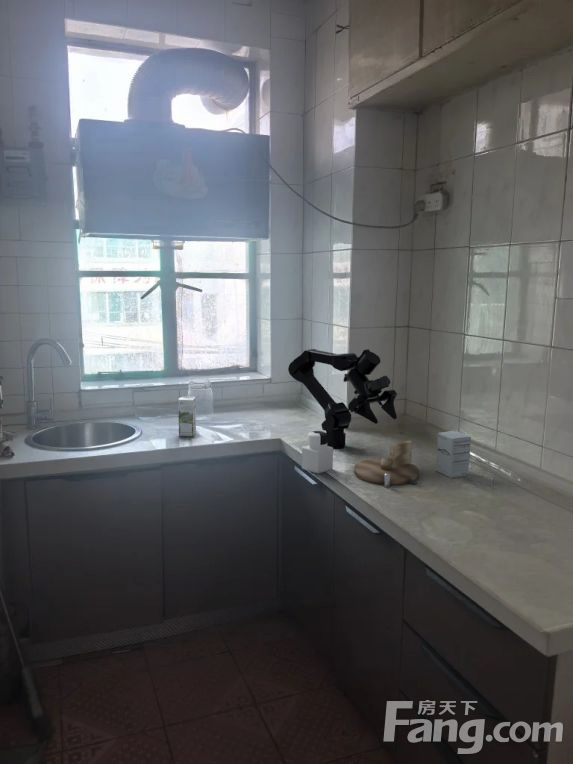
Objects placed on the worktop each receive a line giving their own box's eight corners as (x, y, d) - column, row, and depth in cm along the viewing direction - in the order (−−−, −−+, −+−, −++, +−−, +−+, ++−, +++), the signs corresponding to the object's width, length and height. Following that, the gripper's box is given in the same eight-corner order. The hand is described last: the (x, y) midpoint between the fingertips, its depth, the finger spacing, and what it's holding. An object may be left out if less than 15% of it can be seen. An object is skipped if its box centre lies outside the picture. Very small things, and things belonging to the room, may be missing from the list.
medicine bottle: (316, 463, 198) (317, 428, 196) (333, 469, 193) (334, 432, 191) (301, 468, 193) (301, 432, 191) (317, 474, 188) (318, 436, 186)
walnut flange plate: (391, 491, 173) (392, 461, 172) (340, 470, 190) (341, 444, 189) (438, 477, 186) (439, 449, 184) (386, 459, 202) (387, 433, 201)
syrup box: (196, 433, 233) (195, 396, 230) (193, 437, 227) (193, 399, 224) (181, 432, 233) (180, 395, 230) (178, 437, 227) (177, 399, 225)
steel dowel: (384, 487, 177) (384, 474, 176) (384, 485, 178) (384, 472, 178) (389, 488, 177) (390, 474, 176) (389, 486, 178) (390, 473, 178)
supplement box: (434, 470, 192) (437, 432, 190) (453, 468, 195) (456, 430, 193) (449, 478, 185) (452, 438, 183) (469, 475, 188) (471, 436, 186)
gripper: (354, 371, 193) (380, 410, 186) (393, 365, 205) (419, 402, 198) (337, 392, 200) (361, 431, 193) (375, 386, 212) (400, 422, 205)
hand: (386, 420), depth 197 cm, fingers open, 9 cm apart
